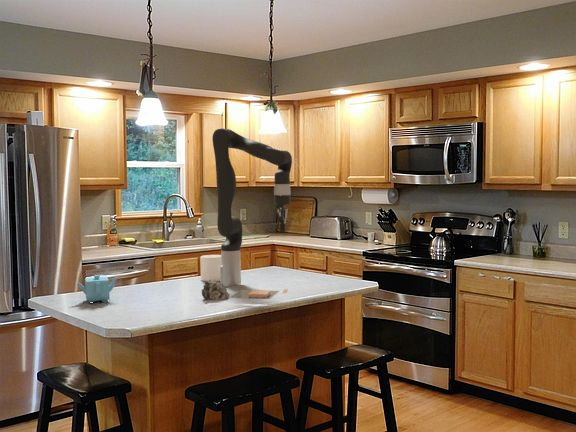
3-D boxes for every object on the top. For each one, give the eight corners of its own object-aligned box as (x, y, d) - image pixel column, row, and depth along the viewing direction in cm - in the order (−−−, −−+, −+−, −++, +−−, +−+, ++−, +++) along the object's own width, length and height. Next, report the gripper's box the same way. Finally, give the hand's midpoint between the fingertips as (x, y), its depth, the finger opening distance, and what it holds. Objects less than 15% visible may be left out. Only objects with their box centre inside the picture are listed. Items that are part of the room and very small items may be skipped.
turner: (281, 291, 294) (281, 288, 293) (291, 291, 293) (291, 288, 293) (276, 298, 278) (276, 295, 278) (287, 298, 277) (286, 295, 277)
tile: (252, 294, 282) (248, 297, 274) (252, 290, 282) (248, 293, 274) (270, 294, 281) (266, 298, 273) (270, 290, 280) (266, 294, 273)
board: (229, 299, 275) (229, 297, 275) (240, 291, 293) (240, 289, 292) (270, 301, 271) (270, 298, 271) (279, 293, 289) (279, 290, 289)
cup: (222, 281, 322) (221, 257, 321) (199, 281, 322) (198, 257, 321) (225, 277, 333) (224, 254, 333) (202, 277, 334) (202, 254, 333)
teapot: (76, 299, 280) (75, 274, 279) (118, 296, 286) (117, 271, 285) (78, 306, 265) (77, 279, 264) (122, 303, 271) (121, 276, 270)
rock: (200, 306, 269) (213, 289, 266) (194, 292, 276) (207, 275, 274) (225, 315, 277) (238, 297, 274) (219, 300, 284) (231, 284, 282)
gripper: (277, 193, 302) (278, 230, 303) (271, 194, 289) (271, 232, 290) (293, 193, 300) (293, 230, 301) (287, 194, 287) (287, 233, 289)
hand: (282, 231), depth 296 cm, fingers closed
